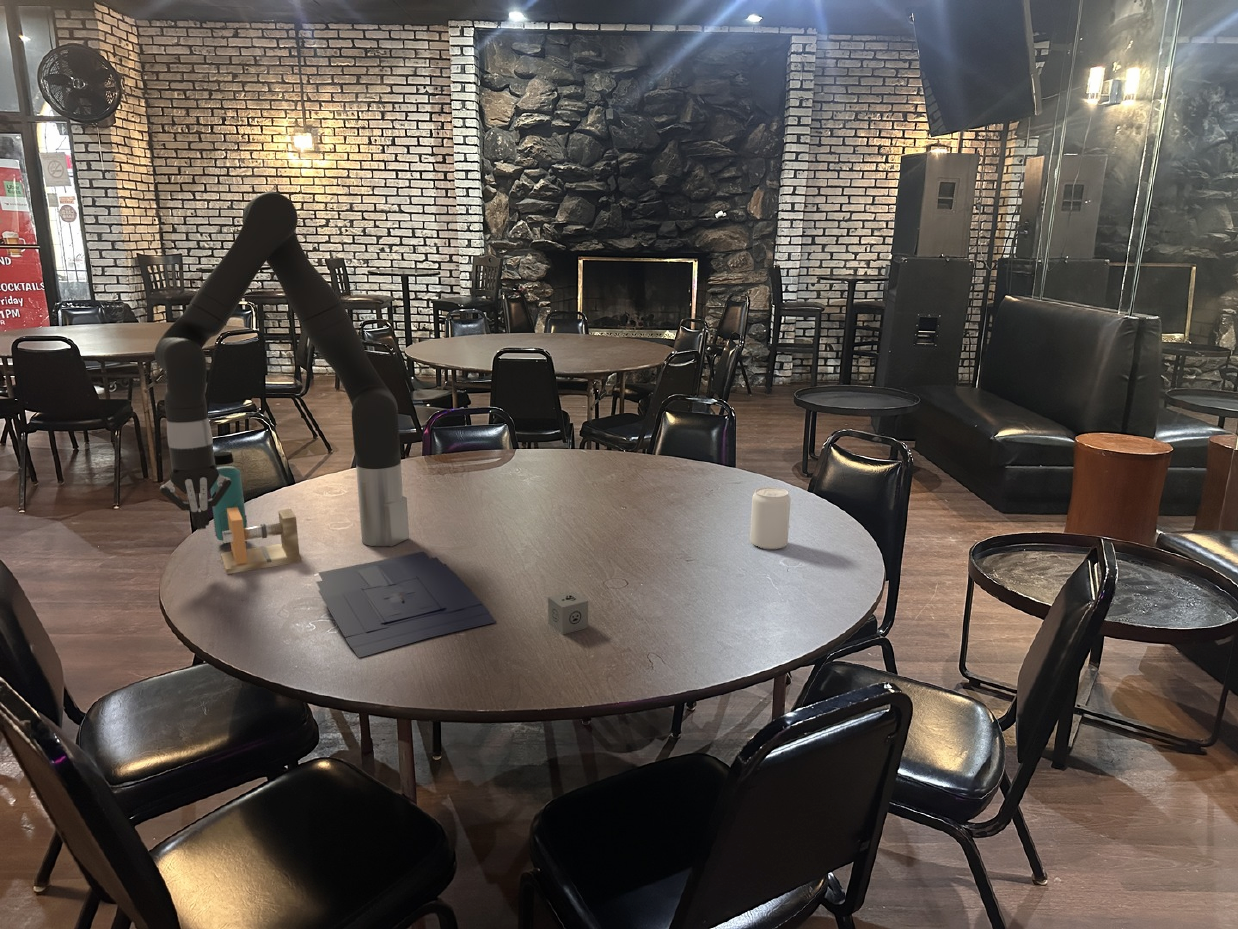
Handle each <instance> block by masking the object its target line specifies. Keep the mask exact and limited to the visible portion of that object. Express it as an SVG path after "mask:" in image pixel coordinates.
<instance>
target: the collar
mask: <svg viewBox="0 0 1238 929" xmlns="http://www.w3.org/2000/svg"><path fill="white" fill-rule="evenodd" d="M227 515H228V524H229V530H232V538H233V542H230V548H231V552H232V553H233V556H234V559H235V561H236V564H242V563H247V554H246V549H247V547H246V540H245V536H244V527H243V519H242V517H241V514H240V512H239V510H238V507H233V508H227Z"/></svg>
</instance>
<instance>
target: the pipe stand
mask: <svg viewBox="0 0 1238 929" xmlns="http://www.w3.org/2000/svg"><path fill="white" fill-rule="evenodd" d="M277 512H278V520H279V522H277V523H272V524H271V523H270V524H266V523H262V524H259V525H256V526H249V527H248V528H244V536H245V541H246V540H247V541H248V540H252V539H259V538H262V540H263V539H267V538H268V537H272V536H280V540H281V543H277V544H270V545H262V546H260V547H259V546H258V547H252V548H251V547H250V548H246V554H247V563H242V564H236V561H235V559H234V556H233V553H232V551H226V552H221V553H220V555H221V556H220V557H221V561H222V563H223V567H224V571H225V574H226V575H230V574H237V573H243V572H248V571H254V570H259V569H266V568H271V567H277V566H283V565H289V564H297V563H301V562H303V561H302V556H301V554H300V546H299V533H298V525H297V516H296V515H295V513H294V512H293V509H292V508H288V509H287V508H286V509H281V510H277ZM222 533H223V541H222V542H223V543H224V544H226V543H228V544H229V543H231V542H233V538H232V530H227V531H222Z"/></svg>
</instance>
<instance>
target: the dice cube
mask: <svg viewBox="0 0 1238 929" xmlns="http://www.w3.org/2000/svg"><path fill="white" fill-rule="evenodd" d="M547 610H548V611H547V612H548V613H547V617H548V619H547V621H548V625H549V626H551V627H552V628H553V629H555V630H556V631H558V633H560V634H562V636H563V635H566V634H570V633H574V632H577V631H581V630H584V629H587V628H589V600H587V599H586V598H585V597H583V596H582V595H581V594H580V593H577V592H576V591H574V590H571V591H566V592H562V593H558V594H555V595H551V596H548V597H547Z"/></svg>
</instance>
